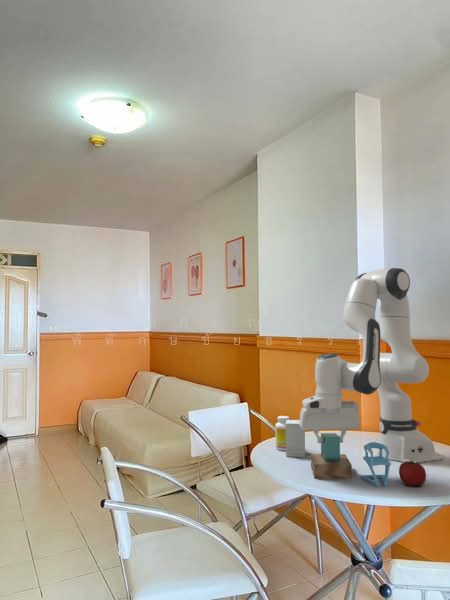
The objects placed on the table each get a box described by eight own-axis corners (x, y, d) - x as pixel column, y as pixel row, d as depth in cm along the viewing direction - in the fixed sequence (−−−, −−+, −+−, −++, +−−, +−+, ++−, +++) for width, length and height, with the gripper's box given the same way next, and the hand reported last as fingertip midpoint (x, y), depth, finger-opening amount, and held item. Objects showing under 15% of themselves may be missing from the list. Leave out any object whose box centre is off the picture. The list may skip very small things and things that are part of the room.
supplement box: (305, 457, 163) (304, 423, 164) (285, 456, 164) (284, 423, 165) (305, 452, 170) (304, 419, 171) (286, 451, 171) (286, 419, 172)
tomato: (401, 478, 139) (400, 455, 140) (428, 482, 135) (427, 459, 136) (396, 486, 133) (395, 462, 133) (425, 491, 129) (424, 466, 129)
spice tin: (335, 456, 148) (335, 433, 149) (340, 461, 144) (339, 436, 144) (321, 456, 148) (320, 433, 149) (325, 461, 143) (325, 437, 144)
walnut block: (345, 468, 151) (345, 454, 151) (352, 480, 139) (351, 465, 139) (311, 467, 152) (310, 453, 152) (314, 479, 140) (314, 464, 141)
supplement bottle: (293, 451, 171) (292, 418, 172) (276, 451, 172) (276, 418, 172) (291, 446, 178) (290, 415, 179) (275, 446, 178) (274, 415, 179)
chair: (370, 487, 132) (369, 448, 133) (360, 477, 140) (359, 440, 141) (395, 486, 132) (393, 447, 133) (383, 477, 141) (382, 440, 141)
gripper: (355, 399, 151) (356, 439, 150) (297, 400, 150) (298, 440, 149) (361, 402, 145) (363, 444, 144) (302, 403, 143) (303, 445, 142)
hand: (330, 442), depth 146 cm, fingers open, 6 cm apart
